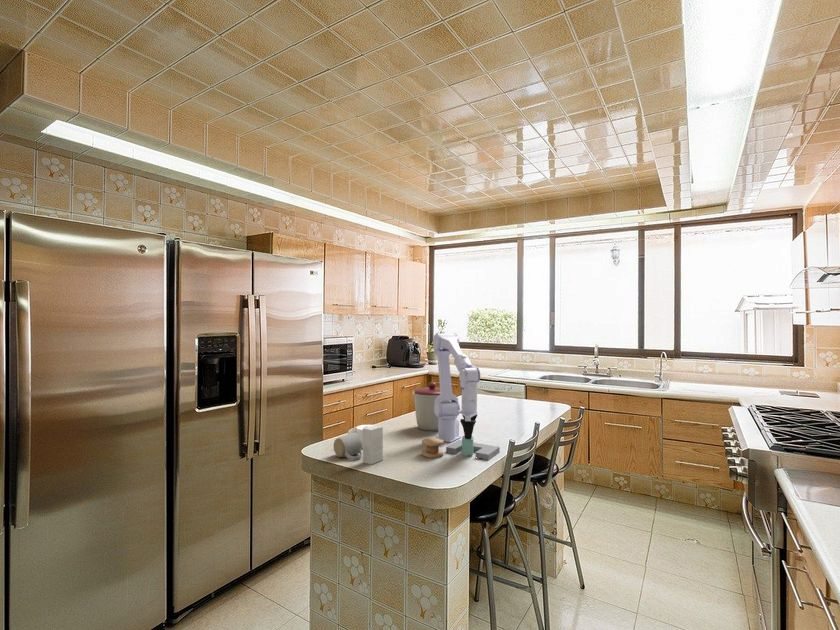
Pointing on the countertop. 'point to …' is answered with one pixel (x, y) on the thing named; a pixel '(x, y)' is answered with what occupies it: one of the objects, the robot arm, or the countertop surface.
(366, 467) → the countertop surface
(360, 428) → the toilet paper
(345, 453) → the ceramic mug
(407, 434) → the countertop surface
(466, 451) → the tab block
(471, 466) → the countertop surface
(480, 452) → the gray u-shaped block
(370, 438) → the skincare box
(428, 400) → the canister
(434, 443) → the bobbin
